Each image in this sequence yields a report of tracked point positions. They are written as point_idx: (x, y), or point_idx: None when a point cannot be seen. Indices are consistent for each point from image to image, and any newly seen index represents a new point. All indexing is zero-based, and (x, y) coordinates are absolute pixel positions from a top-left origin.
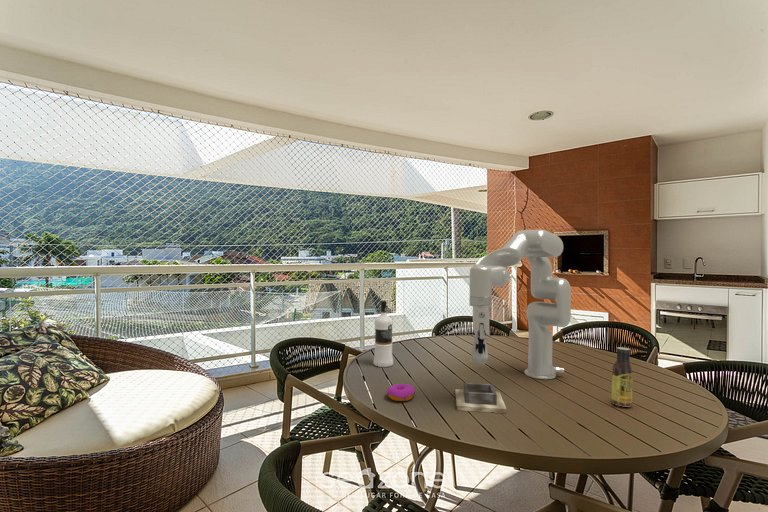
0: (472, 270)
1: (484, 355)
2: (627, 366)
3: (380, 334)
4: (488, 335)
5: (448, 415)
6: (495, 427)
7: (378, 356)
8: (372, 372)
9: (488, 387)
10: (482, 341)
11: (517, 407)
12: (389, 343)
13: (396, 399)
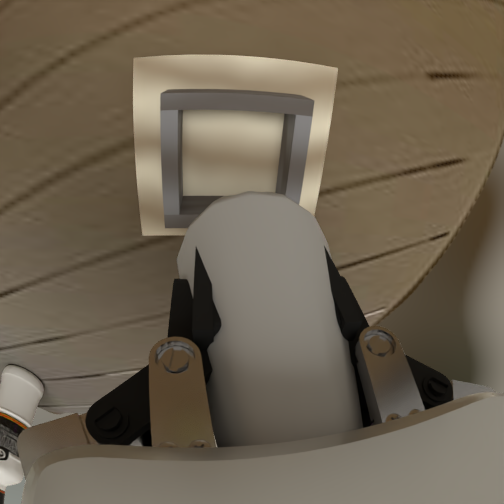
0: None
1: (325, 245)
2: None
3: None
4: (499, 393)
5: (340, 251)
6: (420, 138)
7: (36, 405)
8: (80, 393)
9: (179, 114)
10: (414, 373)
11: (267, 8)
12: (12, 418)
13: None
